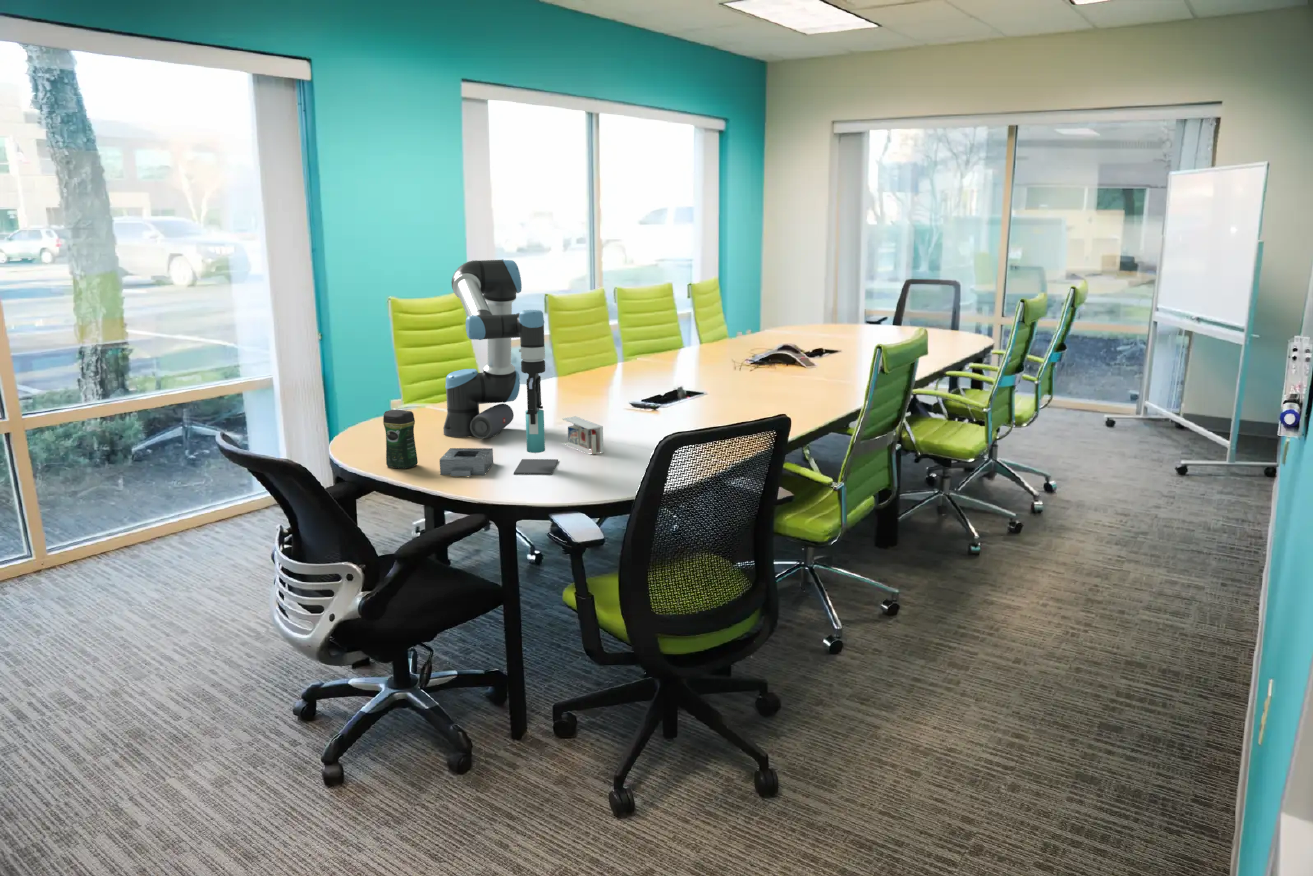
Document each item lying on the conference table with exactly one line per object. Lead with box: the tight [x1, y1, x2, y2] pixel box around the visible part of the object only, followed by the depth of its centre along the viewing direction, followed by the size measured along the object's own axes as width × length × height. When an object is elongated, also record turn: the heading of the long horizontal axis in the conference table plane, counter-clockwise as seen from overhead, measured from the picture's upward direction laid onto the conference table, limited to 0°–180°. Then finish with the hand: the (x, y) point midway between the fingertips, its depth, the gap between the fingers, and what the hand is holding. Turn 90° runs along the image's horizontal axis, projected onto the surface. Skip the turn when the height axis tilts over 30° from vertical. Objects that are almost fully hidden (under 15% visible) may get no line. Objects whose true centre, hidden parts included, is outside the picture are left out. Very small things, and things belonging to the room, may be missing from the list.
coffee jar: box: [382, 409, 419, 469], centre depth 299 cm, size 10×8×19 cm
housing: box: [439, 447, 494, 477], centre depth 297 cm, size 19×14×5 cm
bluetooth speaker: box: [470, 403, 514, 439], centre depth 341 cm, size 23×9×10 cm, turn 168°
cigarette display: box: [562, 415, 604, 455], centre depth 322 cm, size 20×6×9 cm, turn 34°
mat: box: [513, 458, 559, 476], centre depth 299 cm, size 16×12×1 cm
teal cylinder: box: [524, 408, 546, 454], centre depth 296 cm, size 6×6×14 cm
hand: (535, 431), depth 296 cm, fingers closed on teal cylinder, 6 cm apart
